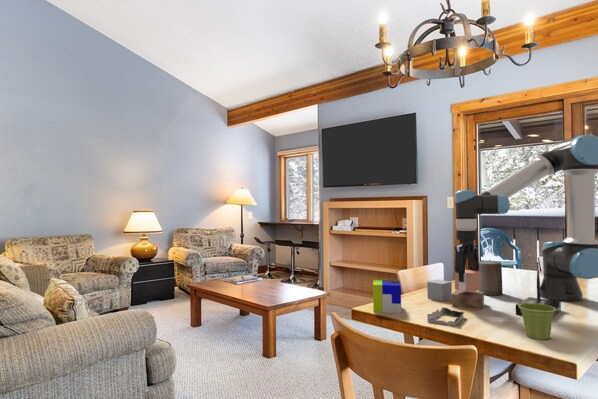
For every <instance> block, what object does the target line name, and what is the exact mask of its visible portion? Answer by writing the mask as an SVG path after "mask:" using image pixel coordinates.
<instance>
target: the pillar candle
mask: <svg viewBox="0 0 598 399" xmlns="http://www.w3.org/2000/svg"><path fill="white" fill-rule="evenodd" d="M502 269H503V266H502V262H500V261H494V260H493V261H492V260H491V259H488V260H483V261H482V260H481V261H480V260H479V271H481V290H478V292H484V296H503V294H504V293H503V270H502Z"/></svg>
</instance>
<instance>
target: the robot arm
mask: <svg viewBox="0 0 598 399" xmlns="http://www.w3.org/2000/svg"><path fill="white" fill-rule="evenodd" d="M534 159H535V160H533V161H531V162H530V163H528V164H526V165H525V166H524V167H522V168H519V170H517V171H515V172H514V173H512V174H510V175H509V176H507V177H505V178H503V179H502V180H500V181H499V182H496V183H495V184H493V185H492V186H490V187H488V188H487V189H485V190H484V191H482V192H481V193H479V194H477V193H476V190H474V189H471V190H470V189H469V190H468V189H467V190H457V191H456V192H455V195H454V203H455V204H454V207H455V208H454V209H455V229H456V231H455V238H456V240H457V241H459V243H458V245H455V246H454V251H455V256H454V257H455V260H454V273H455V272H456V273H459V290H463V291H467V284H466V273H465V270H466V269H467V263H468V267H469V268H468V269H469V270H473V271H479V262H480V260H479V244H478V243H475V242H474V241H477V240H478V232H477V229H478V226H477V225H478V224H477V223H478V222H477V215H504V214H507V213H508V212H509V210H510V208H511V207H510V199H509V198H510V197H513V195H515V194H516V195H517V193H520V192H521V191H522V190H524V189H525V188H527V187H529V186H530V185H531V186H532V185H533V184H534V183H535V182H537V181H539V180H540V179H542V178H544V177H545V176H552V175H554V174H556V173H558V172H561V171H562V173H563V174H565V175H566V176H567V191H566V192H567V195H566V196H567V197H566V198H567V201H566V202H567V207H566V208H567V212H566V213H567V218H566V222H567V224H566V226H567V228H566V230H567V232H566V238H564V239H563V240H562V241H546V242H543V243H542V250H541V252H542V267H543V269H542V271H543V272H542V273H543V278H542V281H541V282H540V298H541V297H542V298H543V299H544V298H545V299H547V300H555V301H565V302H577V301H578V302H579V301H583V298H584V297H583V291H582V289H581V287H580V283H579V281H578V279H585V280H591V279H593V280H594V279H596V278H598V240H596V238H595V237H596V230H595V229H596V227H595V225H596V224H595V223H596V222H595V221H596V220H595V218H596V216H595V215H596V212H595V211H596V208H595V207H596V205H595V204H596V201H595V199H596V198H595V197H596V196H595V194H596V175H597V174H598V136H597V135H594V134H583V135H582V134H581V135H577V136H575V137H572V138H569V139H568V138H567V139H564V140H561V141H558V142H557V143H555V144H553V145H552V146H551V147H549V148H548V149H546V150H544V151H543V152H542V153H540V154H539V155H537V156H536V157H535V158H534Z"/></svg>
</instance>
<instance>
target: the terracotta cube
mask: <svg viewBox="0 0 598 399" xmlns="http://www.w3.org/2000/svg"><path fill="white" fill-rule="evenodd" d="M465 273H466V284H467V291H468V292H475V291H478V292H479V290H481V271H473V270H470V269H465ZM454 290H455V291H456V290H459V273H456V272H455V271H454ZM462 291H463V290H462Z"/></svg>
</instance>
